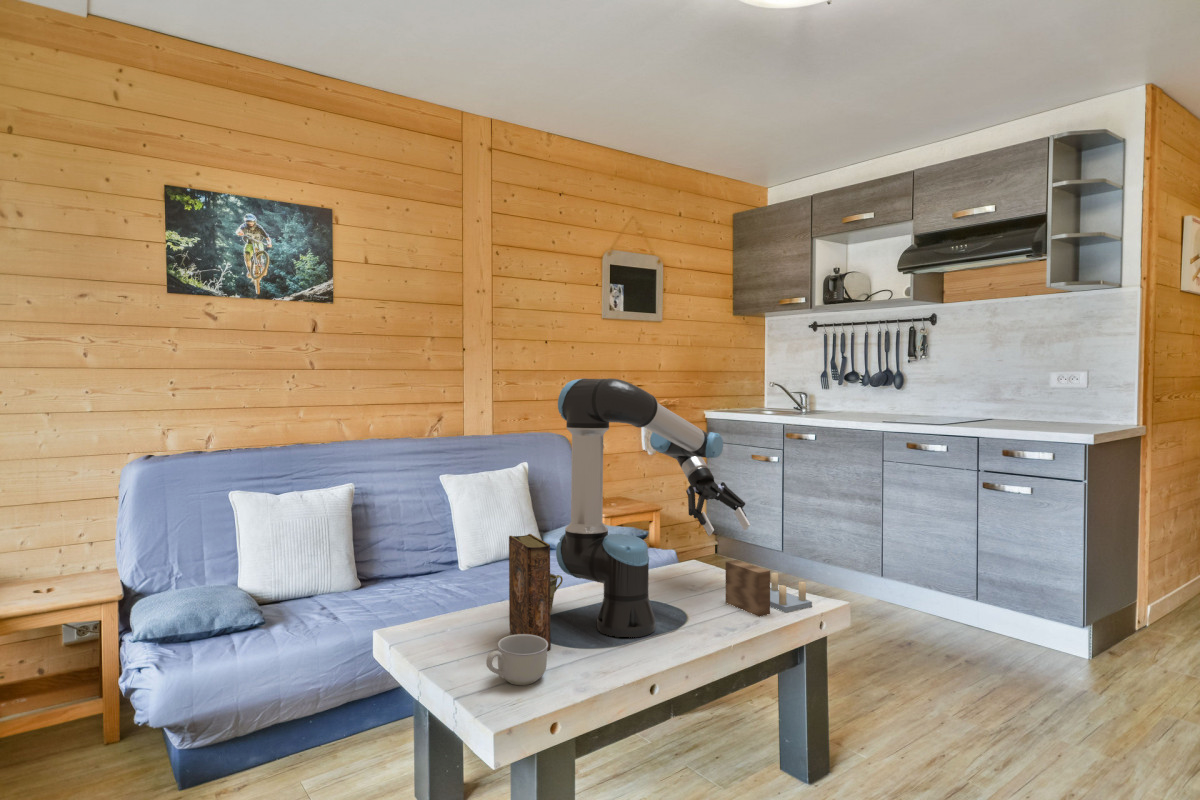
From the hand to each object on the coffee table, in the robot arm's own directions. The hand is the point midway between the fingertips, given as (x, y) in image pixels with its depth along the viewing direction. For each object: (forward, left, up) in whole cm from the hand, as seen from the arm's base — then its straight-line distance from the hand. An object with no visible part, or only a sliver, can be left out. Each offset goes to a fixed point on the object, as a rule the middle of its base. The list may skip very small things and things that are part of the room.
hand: (729, 530), depth 204 cm
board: (+8, -7, -20) cm, 23 cm away
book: (-30, -58, -20) cm, 69 cm away
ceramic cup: (-40, -38, -20) cm, 59 cm away
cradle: (+14, +3, -20) cm, 24 cm away
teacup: (-19, -78, -20) cm, 83 cm away
